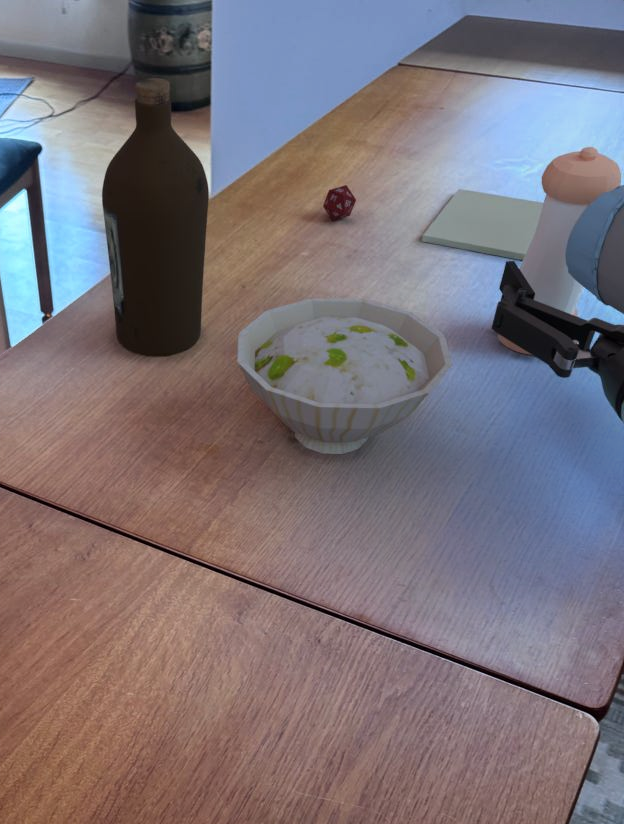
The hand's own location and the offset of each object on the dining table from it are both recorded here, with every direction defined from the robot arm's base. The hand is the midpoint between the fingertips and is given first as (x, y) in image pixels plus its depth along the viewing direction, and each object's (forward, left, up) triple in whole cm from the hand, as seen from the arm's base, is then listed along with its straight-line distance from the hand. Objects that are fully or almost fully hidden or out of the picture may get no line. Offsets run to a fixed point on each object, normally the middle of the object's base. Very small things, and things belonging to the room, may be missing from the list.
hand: (577, 271), depth 87 cm
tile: (+13, -31, -10) cm, 34 cm away
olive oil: (+40, +12, -10) cm, 43 cm away
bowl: (+16, +21, -10) cm, 28 cm away
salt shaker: (+3, -5, -10) cm, 11 cm away
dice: (+33, -25, -10) cm, 42 cm away
